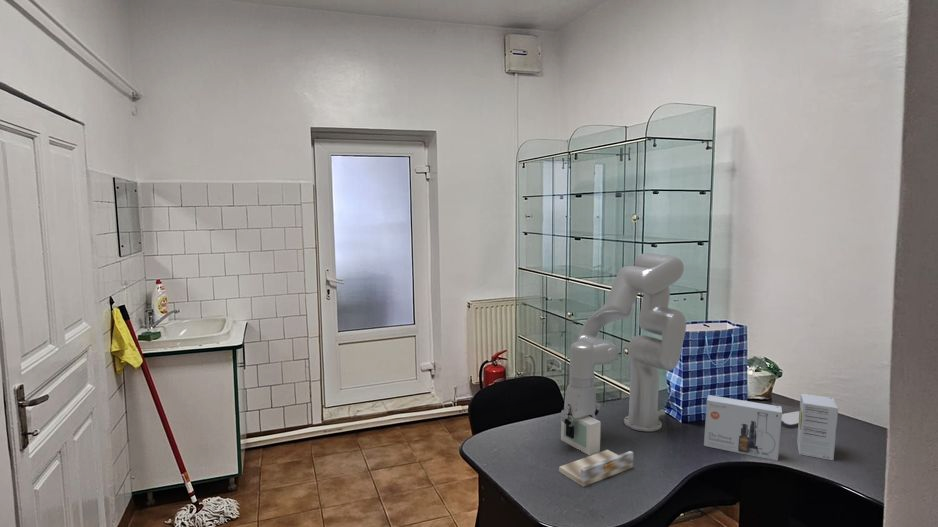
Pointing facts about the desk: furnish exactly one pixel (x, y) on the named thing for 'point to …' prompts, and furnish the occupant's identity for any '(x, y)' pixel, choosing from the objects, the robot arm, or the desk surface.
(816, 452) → the supplement box
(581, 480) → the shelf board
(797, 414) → the phone case
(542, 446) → the desk surface
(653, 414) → the robot arm
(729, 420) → the skincare box
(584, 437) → the carton
